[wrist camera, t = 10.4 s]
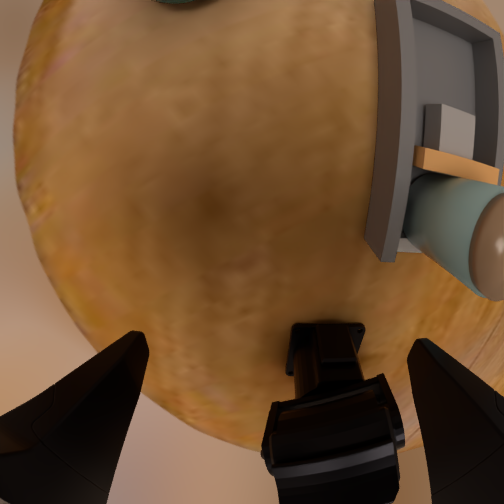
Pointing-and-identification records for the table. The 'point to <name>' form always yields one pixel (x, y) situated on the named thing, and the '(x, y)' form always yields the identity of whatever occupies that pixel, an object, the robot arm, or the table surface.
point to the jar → (460, 229)
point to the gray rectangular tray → (428, 101)
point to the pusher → (451, 145)
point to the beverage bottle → (174, 1)
